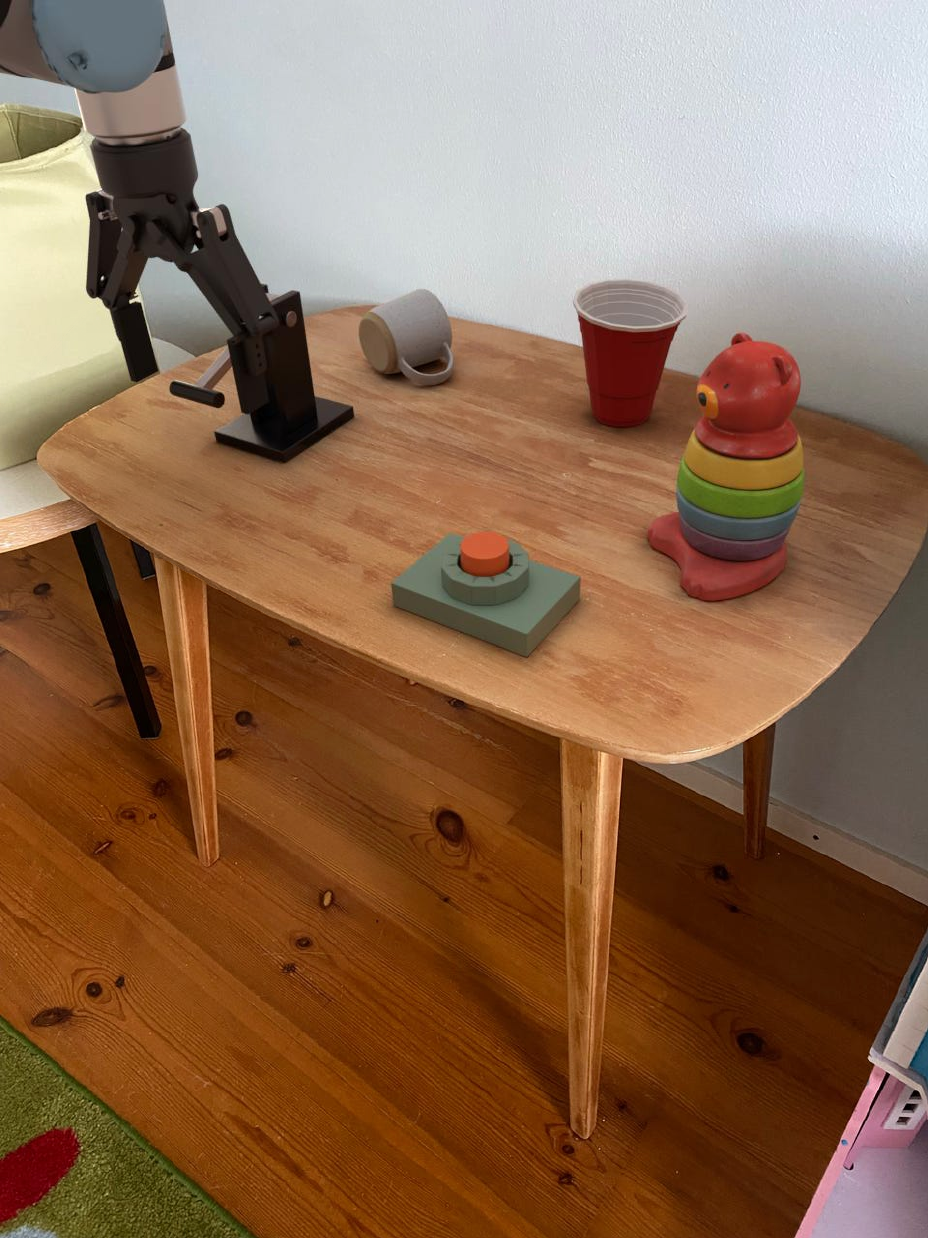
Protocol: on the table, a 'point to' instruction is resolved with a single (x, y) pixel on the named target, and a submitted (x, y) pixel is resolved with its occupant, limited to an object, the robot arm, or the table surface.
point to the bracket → (285, 394)
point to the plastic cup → (626, 345)
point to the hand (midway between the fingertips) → (198, 391)
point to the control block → (488, 596)
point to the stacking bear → (737, 474)
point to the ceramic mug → (408, 336)
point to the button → (484, 554)
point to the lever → (207, 381)
